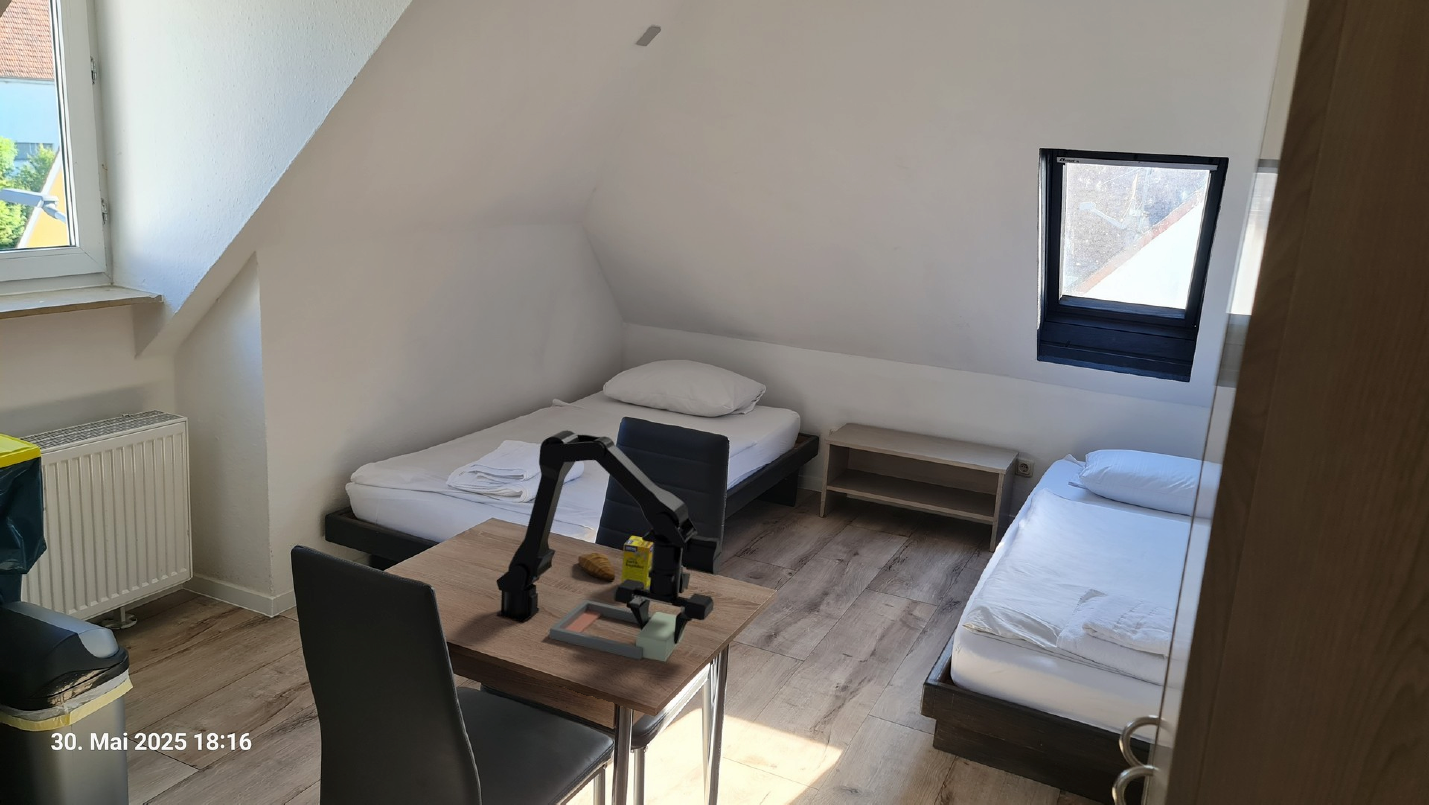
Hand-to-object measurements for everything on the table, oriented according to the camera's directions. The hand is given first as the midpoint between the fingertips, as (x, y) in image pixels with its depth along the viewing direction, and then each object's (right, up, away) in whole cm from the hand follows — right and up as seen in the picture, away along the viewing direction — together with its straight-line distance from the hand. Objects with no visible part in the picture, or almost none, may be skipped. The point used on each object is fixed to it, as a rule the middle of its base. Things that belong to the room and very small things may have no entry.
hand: (660, 639), depth 193 cm
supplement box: (-7, +5, +26) cm, 27 cm away
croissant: (-17, +7, +33) cm, 38 cm away
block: (0, -1, 0) cm, 1 cm away
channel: (-10, 0, +3) cm, 10 cm away
